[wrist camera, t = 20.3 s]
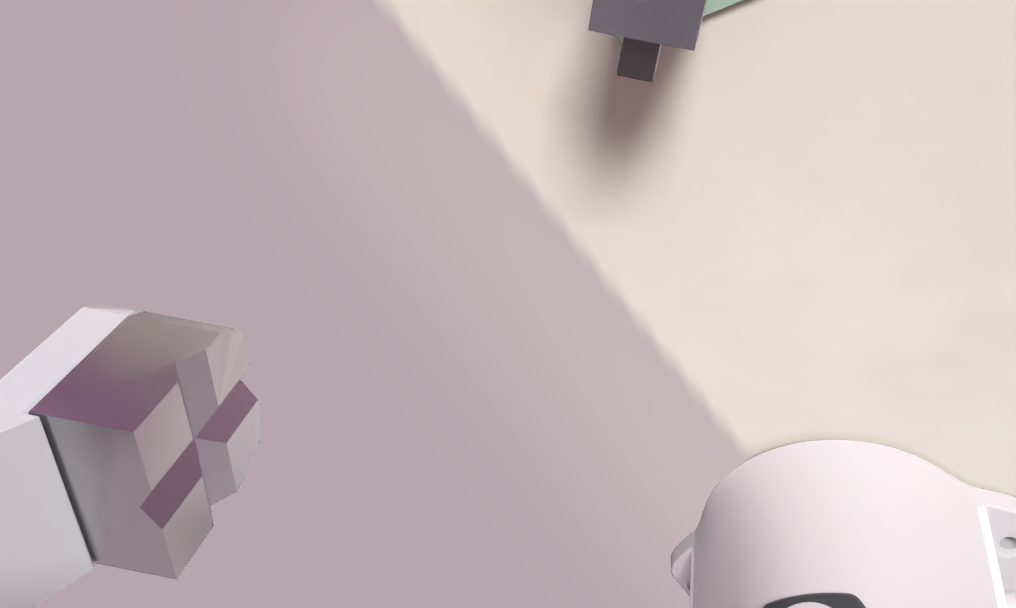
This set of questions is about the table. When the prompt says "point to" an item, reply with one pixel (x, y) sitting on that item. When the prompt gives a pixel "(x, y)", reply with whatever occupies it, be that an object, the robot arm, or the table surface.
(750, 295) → the table surface
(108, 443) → the robot arm
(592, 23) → the grey tabbed block
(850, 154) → the table surface
